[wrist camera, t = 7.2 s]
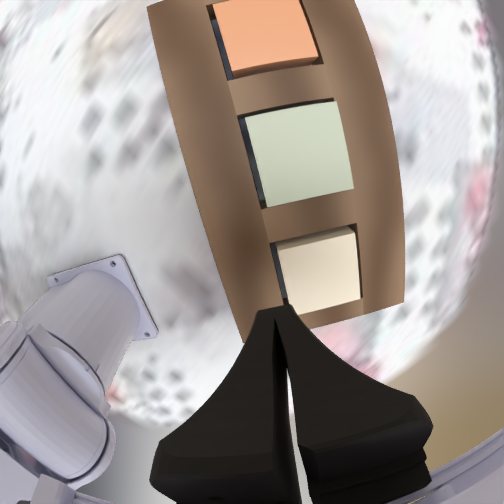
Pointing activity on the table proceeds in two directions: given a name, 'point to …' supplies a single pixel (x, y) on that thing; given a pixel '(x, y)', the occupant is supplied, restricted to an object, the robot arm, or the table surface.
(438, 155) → the table surface
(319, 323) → the button panel
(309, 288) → the cream button
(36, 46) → the table surface
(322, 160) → the sage button
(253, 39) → the terracotta button
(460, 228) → the table surface
